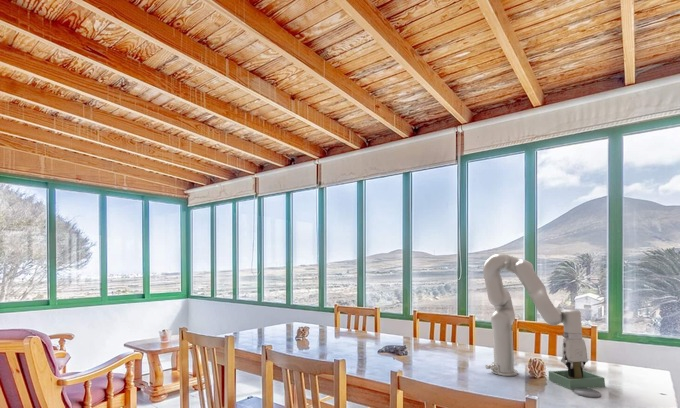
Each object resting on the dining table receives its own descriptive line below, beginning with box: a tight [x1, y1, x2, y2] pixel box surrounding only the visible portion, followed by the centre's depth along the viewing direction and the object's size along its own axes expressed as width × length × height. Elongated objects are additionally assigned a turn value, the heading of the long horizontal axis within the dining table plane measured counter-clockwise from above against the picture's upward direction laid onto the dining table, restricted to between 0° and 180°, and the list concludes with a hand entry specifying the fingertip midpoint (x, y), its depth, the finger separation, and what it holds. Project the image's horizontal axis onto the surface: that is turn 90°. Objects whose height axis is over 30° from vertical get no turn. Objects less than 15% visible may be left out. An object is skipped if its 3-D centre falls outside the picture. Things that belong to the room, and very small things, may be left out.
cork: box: [569, 362, 583, 379], centre depth 193 cm, size 6×6×11 cm
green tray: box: [548, 369, 606, 390], centre depth 192 cm, size 18×14×4 cm
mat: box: [573, 388, 602, 399], centre depth 178 cm, size 10×10×1 cm
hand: (575, 376), depth 193 cm, fingers closed on cork, 3 cm apart
